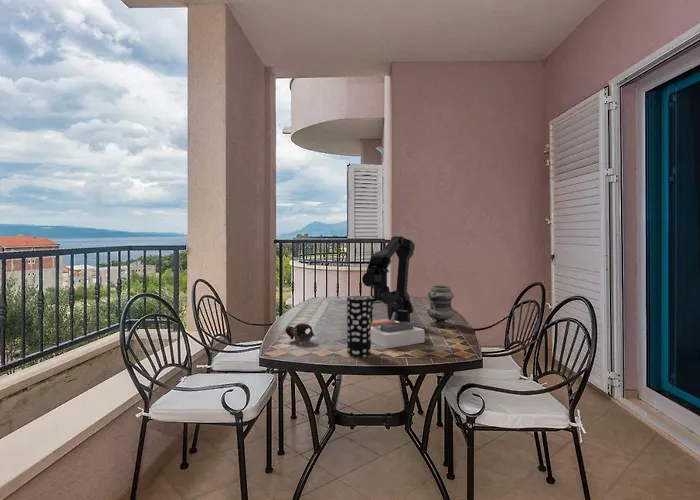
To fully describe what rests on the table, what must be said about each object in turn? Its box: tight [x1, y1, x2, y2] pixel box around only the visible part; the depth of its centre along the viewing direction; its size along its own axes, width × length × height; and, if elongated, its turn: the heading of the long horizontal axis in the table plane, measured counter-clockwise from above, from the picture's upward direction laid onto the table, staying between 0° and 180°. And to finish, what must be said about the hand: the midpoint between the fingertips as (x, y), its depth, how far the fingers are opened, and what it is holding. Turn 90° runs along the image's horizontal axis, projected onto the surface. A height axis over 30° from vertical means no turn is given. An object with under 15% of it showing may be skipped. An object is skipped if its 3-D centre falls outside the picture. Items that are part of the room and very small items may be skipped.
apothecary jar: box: [427, 284, 455, 328], centre depth 198 cm, size 12×12×18 cm
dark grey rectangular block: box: [380, 322, 414, 333], centre depth 168 cm, size 12×5×4 cm, turn 118°
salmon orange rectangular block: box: [371, 318, 396, 326], centre depth 179 cm, size 12×5×4 cm, turn 118°
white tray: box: [371, 320, 425, 349], centre depth 174 cm, size 18×24×5 cm
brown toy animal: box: [285, 322, 315, 346], centre depth 169 cm, size 12×10×8 cm
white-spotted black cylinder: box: [346, 295, 372, 358], centre depth 152 cm, size 8×8×20 cm
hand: (380, 321), depth 179 cm, fingers open, 9 cm apart
